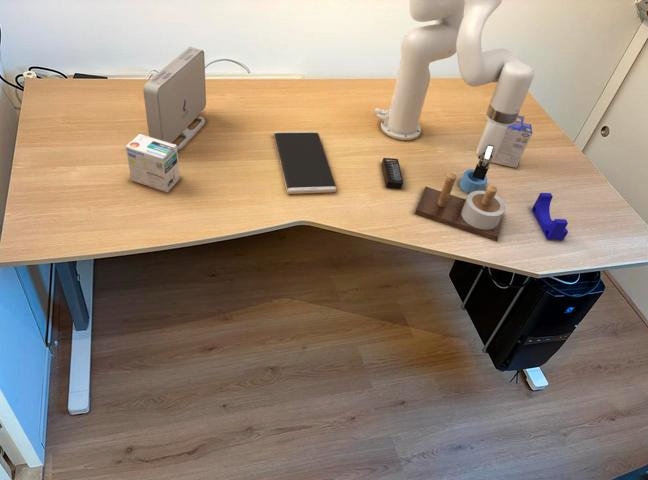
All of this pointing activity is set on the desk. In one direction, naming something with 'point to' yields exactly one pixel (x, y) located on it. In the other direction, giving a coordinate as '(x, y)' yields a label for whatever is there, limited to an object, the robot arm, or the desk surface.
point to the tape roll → (472, 182)
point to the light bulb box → (153, 162)
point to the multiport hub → (392, 173)
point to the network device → (176, 97)
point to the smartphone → (304, 163)
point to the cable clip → (549, 218)
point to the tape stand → (464, 209)
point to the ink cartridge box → (513, 144)
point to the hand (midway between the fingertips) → (480, 168)
